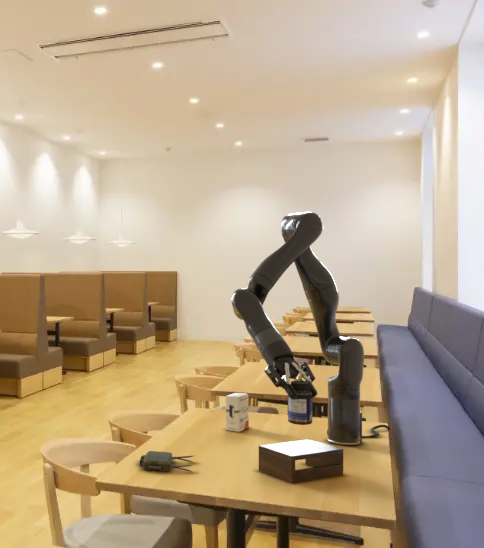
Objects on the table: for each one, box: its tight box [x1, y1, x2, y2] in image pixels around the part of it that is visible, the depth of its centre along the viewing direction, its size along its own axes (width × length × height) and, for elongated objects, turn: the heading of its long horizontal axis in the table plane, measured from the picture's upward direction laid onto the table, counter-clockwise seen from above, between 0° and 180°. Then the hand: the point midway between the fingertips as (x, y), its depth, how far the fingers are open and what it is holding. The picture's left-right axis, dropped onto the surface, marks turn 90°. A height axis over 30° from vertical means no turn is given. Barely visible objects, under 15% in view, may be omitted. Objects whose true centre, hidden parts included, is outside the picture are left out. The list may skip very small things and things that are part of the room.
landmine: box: [139, 450, 196, 473], centre depth 203 cm, size 14×3×15 cm
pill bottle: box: [287, 380, 314, 426], centre depth 195 cm, size 6×6×11 cm
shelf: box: [258, 438, 344, 484], centre depth 195 cm, size 18×12×7 cm, turn 113°
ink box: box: [225, 392, 250, 433], centre depth 247 cm, size 8×5×12 cm, turn 140°
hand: (305, 396), depth 193 cm, fingers closed on pill bottle, 6 cm apart
